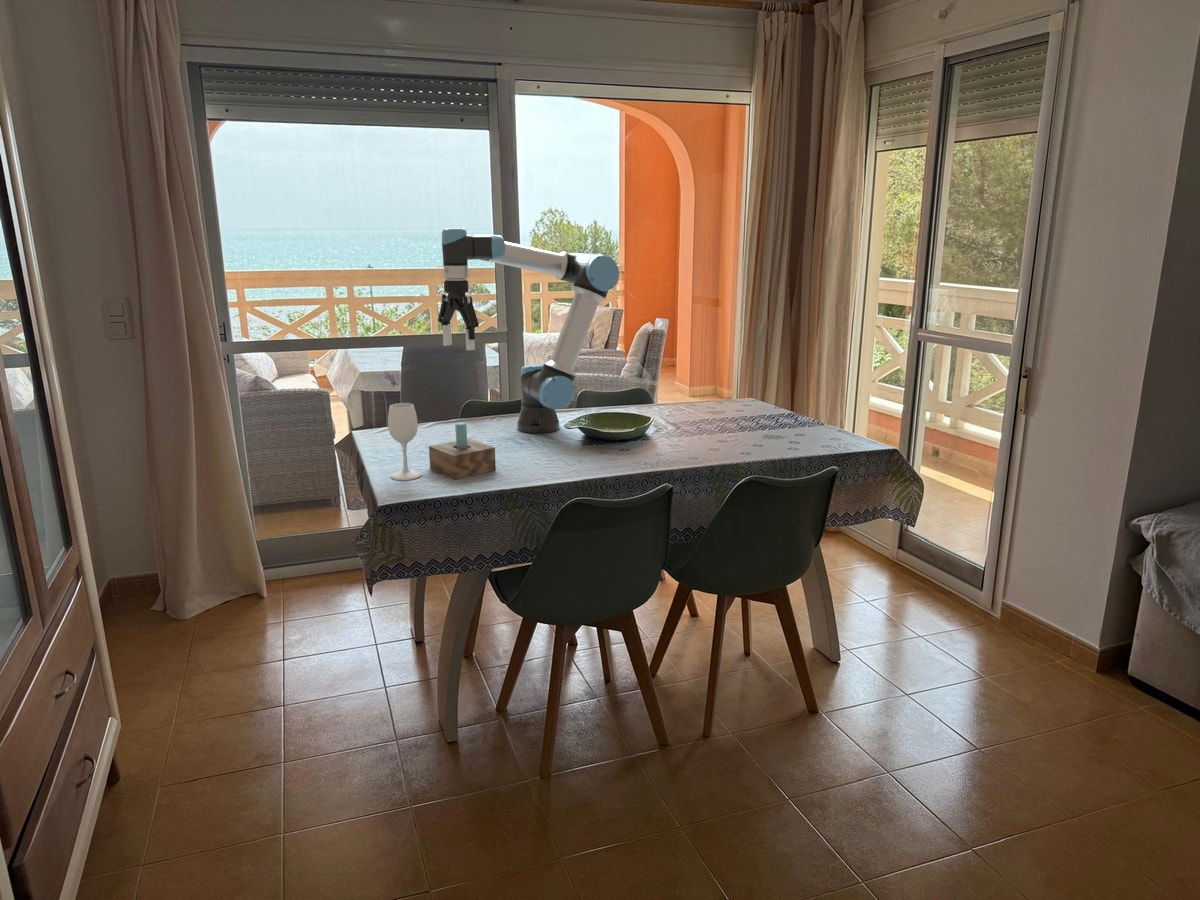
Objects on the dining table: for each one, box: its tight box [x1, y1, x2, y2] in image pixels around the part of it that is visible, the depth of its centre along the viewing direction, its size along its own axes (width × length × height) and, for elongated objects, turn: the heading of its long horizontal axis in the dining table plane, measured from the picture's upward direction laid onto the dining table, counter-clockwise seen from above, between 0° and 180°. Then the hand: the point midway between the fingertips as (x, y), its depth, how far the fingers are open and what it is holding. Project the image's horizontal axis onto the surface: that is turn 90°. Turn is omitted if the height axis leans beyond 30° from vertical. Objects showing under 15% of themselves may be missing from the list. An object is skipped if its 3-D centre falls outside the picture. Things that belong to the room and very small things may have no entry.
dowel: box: [455, 422, 468, 450], centre depth 236 cm, size 3×3×12 cm
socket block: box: [428, 438, 497, 480], centre depth 238 cm, size 14×14×7 cm
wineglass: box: [387, 402, 422, 481], centre depth 229 cm, size 9×9×21 cm
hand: (458, 347), depth 255 cm, fingers open, 13 cm apart
